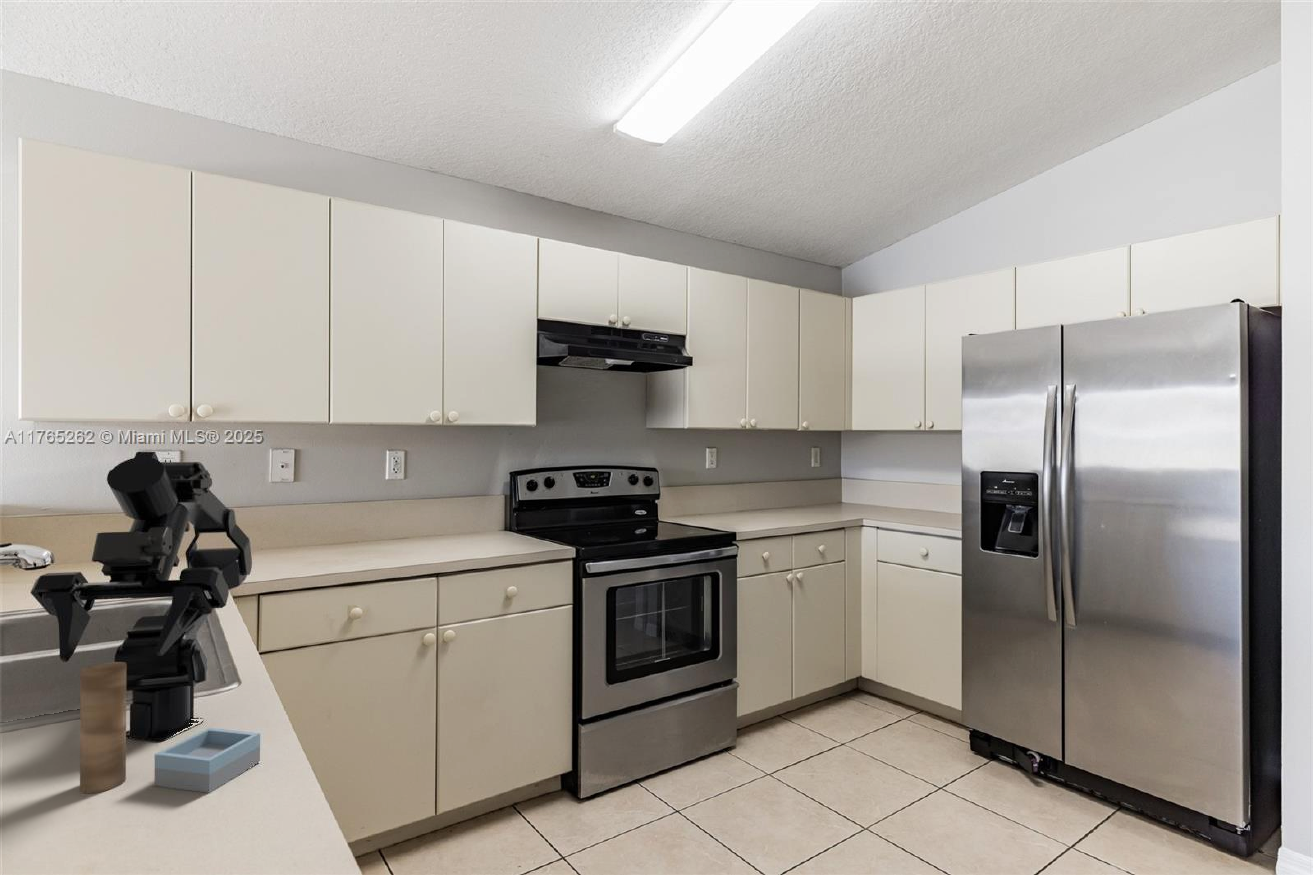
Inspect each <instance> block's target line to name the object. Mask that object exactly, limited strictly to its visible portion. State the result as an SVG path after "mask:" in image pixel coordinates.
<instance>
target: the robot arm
mask: <svg viewBox="0 0 1313 875" xmlns="http://www.w3.org/2000/svg"><path fill="white" fill-rule="evenodd" d="M106 482H107V484H108V486H109V488H110V489H111V491H112V494H113V495H114V497H115V499H116V501H117V502H118V504H119V506H120V508H121V510H122V511H123V514H124V515H125V516H126V517H128V518H130V519H133V521H132V524H131V527H130V529H129V530H128V531H111V532H110V531H108V532H106V531H105V532H103V531H102V532H97V533H96V537H95V540H94V541H95V542H94V547H93V550H92V551H93V552H92V556H91V562H93V563H97V562H98V563H100V564H102V568H101V572H102V574H103V575H104V577H110V580H109V581H103V582H102V581H101V582H99V581H98V582H89V581H88V580H87V579H86V577H85V576H84V574H83V573H82V572H81V571H74V572H73V571H72V572H70V571H68V572H47V573H44V574H42V575H39V577H38V578H36V580H35V582H34V583H33V586H32V588H31V590H30V594H31V595H32V596H33V598H34V599H35V600H36V601H37V602H38V603H39V604H40V605H41V607H42V608H43V609H44V610H45V611H46V613H48V615H50V616H54V617H56V619H57V622H58V640H59V641H58V642H59V643H58V644H59V660H60V661H62V662H63V663H67V662H68V661H69V660H70V659H71V658H72V656H73V654H74V653H75V652H76V649H77V647H78V645H79V643H80V640H81V639H82V636H83V634H84V633H85V630H86V628H87V626H88V624H89V621H90V620H91V616H90V614H89V613H88V612H89V611H91V610H93V607H94V605H95V601H97V600H118V599H119V600H120V599H122V600H123V599H132V600H133V599H135V600H136V599H154V598H171V599H172V600H171V604H170V605H169V607H168V608H167V609H166V611H165V612H163V614H162V615H148V616H141V618H138V619H137V620H136V622H135V624H134V626H133V627H132V628H131V629H130V630H127V632H126V634H127V636H126V637H125V639H124V640H123V642H122V644H120V645H119V646H118V647H117V649H116V651H115V654H114V661H113V662H124V663H126V664H127V666H126V692H132V693H131V694H132V697H131V698H132V701H131V703H130V705H129V729H128V730H126V737H128V738H127V739H132V738H137V739H136V740H140V739H144V740H143V741H149V740H150V742H158V741H159V742H160V743H161V742H165V741H166V740H165V739H167V738H169V737H171V736H173V735H174V734H176V733H177V732H180V731H182V730H183V729H185V728H188V727H190V726H192V725H193V724H191V723H198V722H199V721H197V720H196V721H194V720H191V719H199V718H200V719H203V720H204V718H203V717H195V718H194V716H195V715H194V714H195V711H194V710H195V706H194V705H195V703H194V702H195V701H194V700H195V697H194V696H195V686H196V685H197V684H200V683H203V682H206V681H207V676H208V674H207V673H208V672H207V671H208V658H207V656H206V654H205V652H204V650H203V648H202V646H201V644H200V642H199V640H198V638H197V637H198V635H197V633H198V632H199V630H200V629H201V628H202V626H203V624H204V623H205V622H206V619H207V618H208V616H209V615H210V614H212V613H213V610H214V609H222V608H224V607H226V606H227V602H228V598H229V595H230V594H229V591H230V590H233V589H236V588H239V587H240V586H241V584H243V582H245V580H247V577H248V576H249V575H250V574H251V572H252V567H253V558H252V548H251V542H250V539H249V538H250V537H248V536H247V534H246V533H245V532H244V531H243V530H242V529H241V527H240V526H238V525H237V520H236V514H235V510H234V509H232V508H229V507H226V505H225V504H223V502H222V501H221V500H220V499H219V498H218V497H217V496H216V495H215V493H213V492H212V491H211V489H210V488H211V487H212V485H213V479H212V477H211V474H210V472H209V471H208V470H207V469H206V468H205V466H204V465H203V463H201V462H200V461H159V457H158V455H157V453H156V451H136V452H135V455H134V457H132V458H130V459H126V460H124V461H122V462H119V463H118V464H117V465H115V466H114V467H113V468H112V469H110V470H109V472H108V473H107V476H106ZM190 525H192V526H193V531H194V537H193V539H192V540H191V542H190V544H189V545H188V547H187V548H186V550H185V559H186V566H187V567H186V568H184V569H182V570H181V572H180V574H179V578H178V579H170V577H171V574H172V571H173V568H174V567H175V568H176V567H177V568H178V566H179V563H180V558H179V556H178V553H179V550H180V546H181V544H182V540H183V538H184V536H185V533H189V531H190V529H191V528H190ZM219 533H224V534H226V537H227V538H228V539H229V540H230V541H231V542H232V544H233V545H234V546H235V547H223V548H218V547H216V548H199V549H198V544H197V541H198V540H199V538H200V536H201V535H202V534H219ZM169 579H170V580H169ZM189 723H190V724H189ZM130 737H131V738H130ZM171 738H172V737H171ZM169 739H170V738H169ZM164 740H165V741H164ZM167 740H168V739H167Z"/></svg>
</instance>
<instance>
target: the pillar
mask: <svg viewBox="0 0 1313 875" xmlns="http://www.w3.org/2000/svg"><path fill="white" fill-rule="evenodd" d="M126 666H127V664H126V663H124V662H114V661H111V662H110V661H109V662H102V663H97V664H93V665H89V666H87V667H84V668H82V669H81V670H80V700H79V701H80V713H79V714H80V717H79V718H80V722H79V724H80V726H79V727H80V728H79V730H80V732H79V733H80V734H79V741H80V742H79V745H80V746H79V749H80V751H79V791H80V792H81V793H83V794H96V793H102V792H106V791H110V790H112V789H115V788H116V787H119V786H121V785H122V784H124V783H125V782H126V779H127V777H126V776H127V738H126V731H127V691H126Z"/></svg>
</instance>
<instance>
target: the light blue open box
mask: <svg viewBox="0 0 1313 875" xmlns="http://www.w3.org/2000/svg"><path fill="white" fill-rule="evenodd" d="M259 761H260V762H261V733H259V732H252V731H243V730H242V731H240V730H232V729H224V728H223V729H222V728H213V727H208V728H206V729H204V730H202V731H200V732H197V733H195V734H194V735H192V736H189V737H187V738H186V739H184V740H181V741H179V742H177V743H175V744H173V745H171V746H169V747H166V748H164V749H163V750H161V751H159V752H156V753H154V787H161V788H167V789H168V788H170V789H176V790H177V789H178V790H182V791H183V790H184V791H192V792H199V793H209V794H210V793H212V792H213V791H215V790H216V789H219V788H220V787H222V786H223V785H222V784H224V783H225V784H227V783H228V782H230V781H232V780H233V778H234V779H235V778H236V776H237V777H238V775H239V774H240V775H242V774H244V773H245V772H247V771H248V770H247V769H249V768H250V767H252V766H253V765H255V764H257V763H258V762H259ZM257 765H258V764H257ZM255 766H256V765H255ZM252 768H253V767H252ZM250 769H251V768H250ZM250 769H249V770H250ZM246 770H247V771H246ZM244 771H245V772H244ZM243 772H244V773H243ZM241 773H242V774H241ZM240 775H239V776H240ZM231 779H232V780H231ZM225 784H224V785H225ZM221 785H222V786H221ZM218 787H219V788H218Z"/></svg>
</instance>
